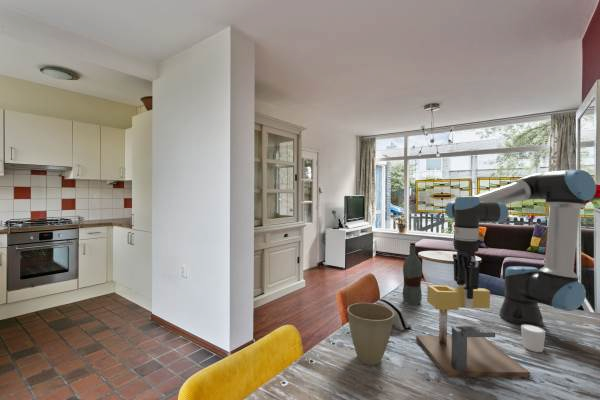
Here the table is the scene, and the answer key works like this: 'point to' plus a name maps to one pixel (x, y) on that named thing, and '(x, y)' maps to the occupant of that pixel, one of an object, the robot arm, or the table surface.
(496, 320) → the table surface
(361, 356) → the plant pot
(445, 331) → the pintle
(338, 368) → the table surface
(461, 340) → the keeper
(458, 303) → the link
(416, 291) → the bottle
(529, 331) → the white cylinder
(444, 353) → the board
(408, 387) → the table surface
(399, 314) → the white d-shaped block
